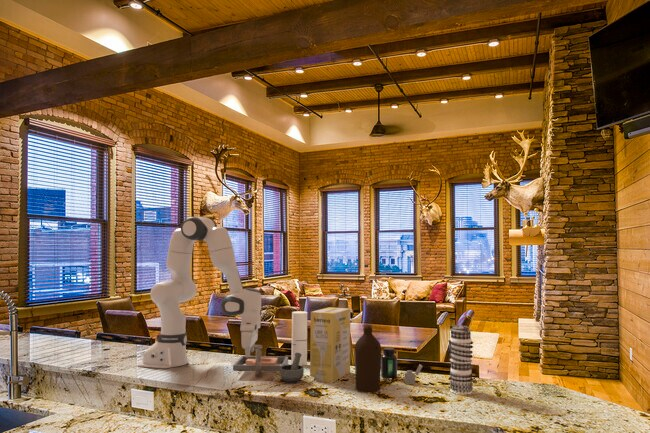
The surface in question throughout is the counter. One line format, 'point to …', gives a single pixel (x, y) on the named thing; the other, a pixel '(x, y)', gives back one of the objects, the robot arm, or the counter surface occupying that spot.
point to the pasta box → (330, 344)
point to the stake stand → (257, 370)
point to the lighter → (411, 375)
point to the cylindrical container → (299, 336)
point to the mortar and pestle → (292, 371)
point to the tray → (242, 360)
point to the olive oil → (367, 361)
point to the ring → (263, 361)
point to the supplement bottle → (388, 363)
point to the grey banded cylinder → (460, 360)
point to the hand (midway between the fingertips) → (249, 354)
